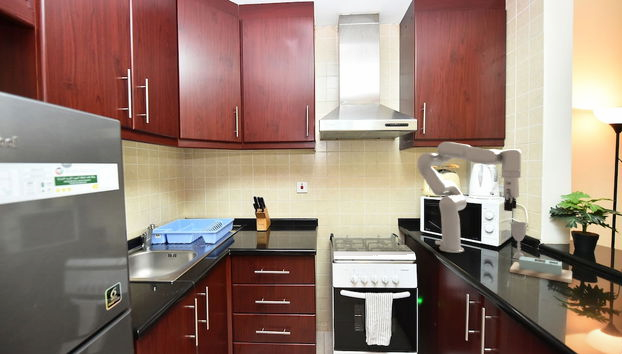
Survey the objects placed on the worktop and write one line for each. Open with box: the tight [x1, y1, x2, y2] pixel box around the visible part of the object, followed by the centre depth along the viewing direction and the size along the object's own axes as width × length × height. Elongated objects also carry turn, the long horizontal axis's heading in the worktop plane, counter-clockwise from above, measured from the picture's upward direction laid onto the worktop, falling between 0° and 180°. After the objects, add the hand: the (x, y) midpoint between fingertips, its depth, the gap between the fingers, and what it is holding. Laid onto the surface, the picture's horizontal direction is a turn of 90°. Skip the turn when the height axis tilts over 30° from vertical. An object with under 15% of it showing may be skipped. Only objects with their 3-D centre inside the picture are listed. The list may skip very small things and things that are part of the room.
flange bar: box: [518, 255, 563, 275], centre depth 120 cm, size 14×6×4 cm, turn 46°
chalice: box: [509, 221, 528, 260], centre depth 141 cm, size 7×7×18 cm
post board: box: [509, 258, 573, 284], centre depth 120 cm, size 20×12×6 cm, turn 46°
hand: (510, 209), depth 135 cm, fingers open, 9 cm apart
